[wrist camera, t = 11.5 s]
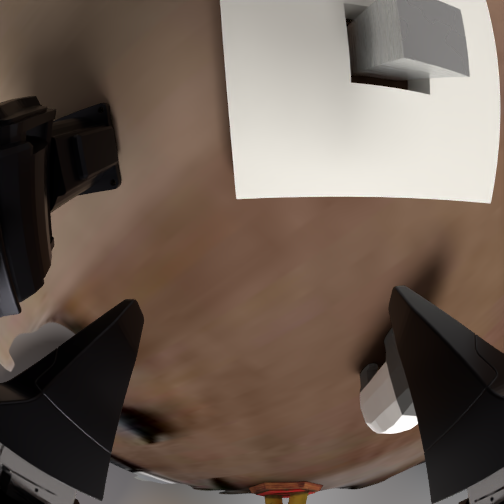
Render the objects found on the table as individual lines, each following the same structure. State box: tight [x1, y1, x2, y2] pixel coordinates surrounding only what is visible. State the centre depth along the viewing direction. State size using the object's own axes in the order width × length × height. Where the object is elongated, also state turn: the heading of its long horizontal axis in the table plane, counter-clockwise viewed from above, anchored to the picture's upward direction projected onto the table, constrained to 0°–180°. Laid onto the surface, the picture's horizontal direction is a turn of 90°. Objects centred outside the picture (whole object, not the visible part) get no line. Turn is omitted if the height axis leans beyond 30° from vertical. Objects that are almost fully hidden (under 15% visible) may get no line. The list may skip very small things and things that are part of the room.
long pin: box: [347, 0, 470, 81], centre depth 10 cm, size 3×3×8 cm
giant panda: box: [360, 327, 418, 434], centre depth 21 cm, size 15×6×10 cm, turn 169°
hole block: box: [220, 0, 500, 203], centre depth 12 cm, size 18×18×3 cm
